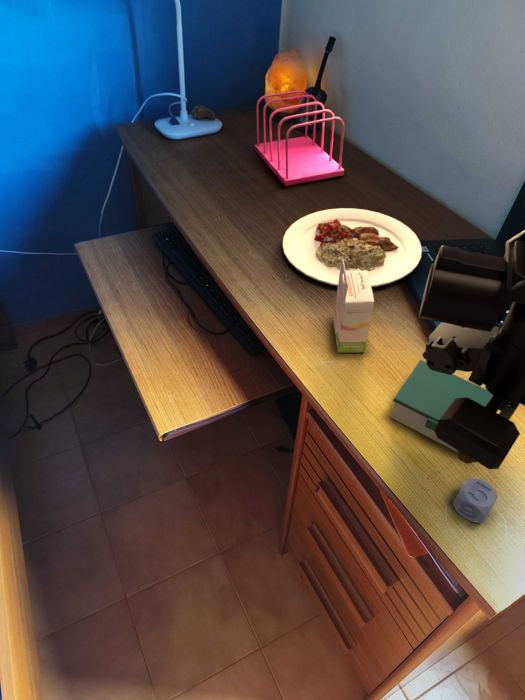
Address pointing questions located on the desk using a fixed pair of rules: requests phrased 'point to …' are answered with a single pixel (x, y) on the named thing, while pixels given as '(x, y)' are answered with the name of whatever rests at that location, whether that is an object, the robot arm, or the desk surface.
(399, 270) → the plated food
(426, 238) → the desk surface
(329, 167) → the file sorter
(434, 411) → the box
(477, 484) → the decorative dice
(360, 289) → the ink box
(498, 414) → the robot arm
